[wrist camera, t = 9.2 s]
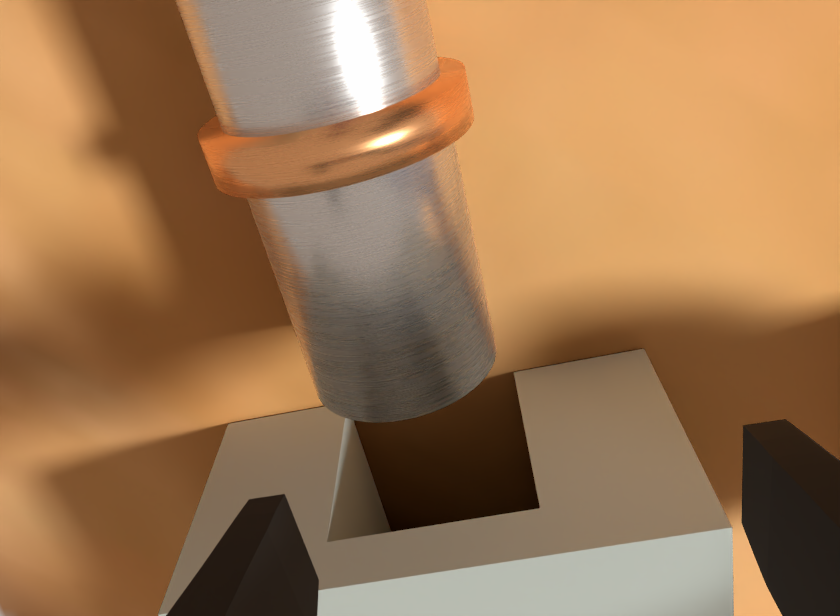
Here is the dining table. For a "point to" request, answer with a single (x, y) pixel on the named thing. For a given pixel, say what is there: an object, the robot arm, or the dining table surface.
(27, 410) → the dining table surface
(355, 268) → the silver copper cylinder
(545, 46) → the dining table surface
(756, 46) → the dining table surface
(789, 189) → the dining table surface
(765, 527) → the robot arm
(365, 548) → the block
